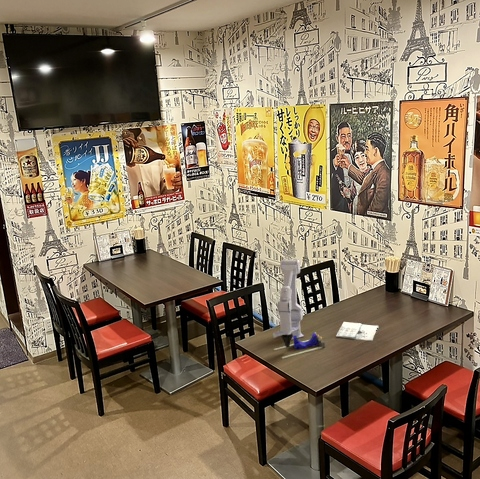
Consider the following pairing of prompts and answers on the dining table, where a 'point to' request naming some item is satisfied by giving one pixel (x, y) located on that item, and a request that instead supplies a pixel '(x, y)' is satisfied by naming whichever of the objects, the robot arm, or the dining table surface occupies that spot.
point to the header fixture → (319, 342)
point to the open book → (352, 329)
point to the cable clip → (305, 344)
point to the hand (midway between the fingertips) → (287, 346)
